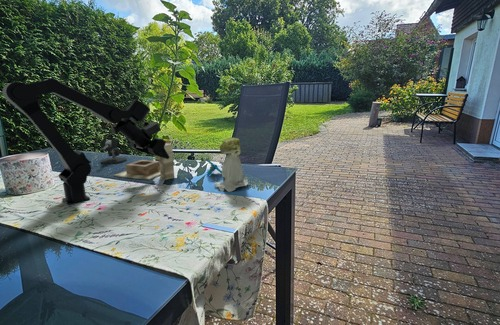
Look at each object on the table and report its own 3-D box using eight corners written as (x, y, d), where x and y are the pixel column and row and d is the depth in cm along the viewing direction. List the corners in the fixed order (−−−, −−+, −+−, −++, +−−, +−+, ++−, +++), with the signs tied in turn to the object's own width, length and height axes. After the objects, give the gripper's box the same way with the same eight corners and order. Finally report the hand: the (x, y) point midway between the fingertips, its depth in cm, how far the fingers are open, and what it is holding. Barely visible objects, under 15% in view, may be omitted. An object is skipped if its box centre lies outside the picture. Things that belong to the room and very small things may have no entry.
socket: (172, 170, 128) (171, 160, 127) (149, 180, 113) (148, 169, 112) (139, 167, 134) (138, 157, 133) (114, 176, 119) (112, 165, 118)
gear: (227, 174, 115) (209, 158, 113) (217, 185, 115) (199, 169, 112) (223, 171, 126) (206, 156, 124) (214, 180, 125) (197, 166, 123)
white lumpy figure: (255, 185, 106) (255, 137, 102) (232, 194, 97) (231, 141, 92) (232, 179, 114) (231, 134, 109) (208, 187, 104) (206, 138, 100)
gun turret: (93, 168, 132) (89, 141, 129) (104, 159, 151) (100, 135, 148) (122, 166, 135) (118, 140, 132) (129, 157, 154) (126, 134, 151)
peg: (174, 177, 117) (172, 144, 113) (165, 179, 114) (163, 145, 111) (169, 175, 119) (166, 143, 116) (160, 177, 116) (157, 144, 113)
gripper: (158, 116, 99) (186, 143, 110) (134, 114, 111) (161, 138, 122) (140, 141, 96) (170, 166, 106) (116, 136, 108) (146, 159, 118)
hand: (162, 156), depth 113 cm, fingers open, 9 cm apart
